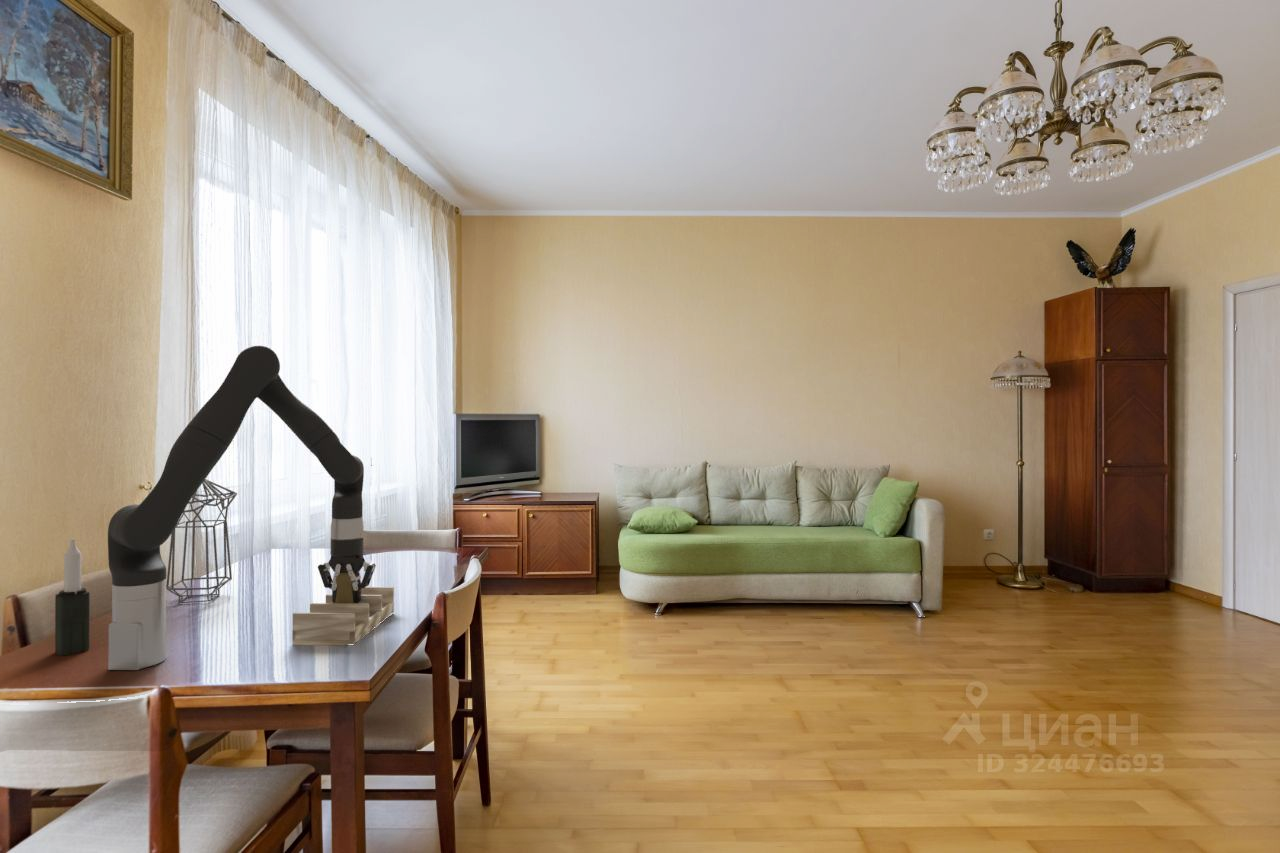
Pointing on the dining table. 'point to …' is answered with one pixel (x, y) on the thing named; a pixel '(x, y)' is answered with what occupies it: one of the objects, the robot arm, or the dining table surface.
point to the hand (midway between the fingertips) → (346, 604)
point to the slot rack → (343, 618)
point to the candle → (72, 607)
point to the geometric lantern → (172, 544)
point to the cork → (344, 588)
